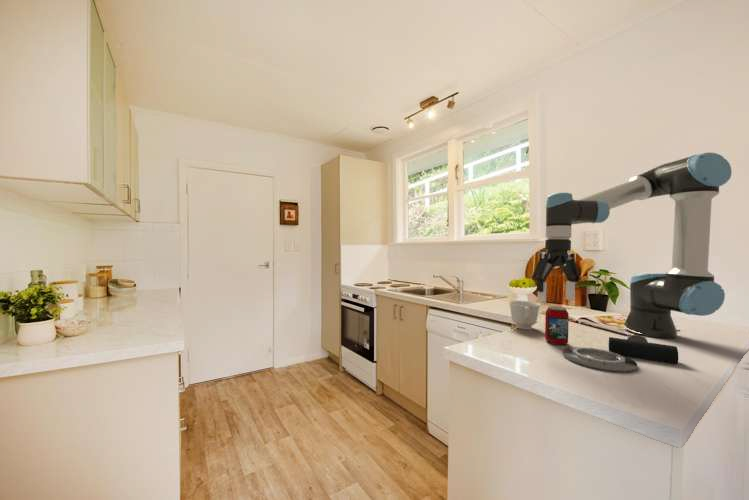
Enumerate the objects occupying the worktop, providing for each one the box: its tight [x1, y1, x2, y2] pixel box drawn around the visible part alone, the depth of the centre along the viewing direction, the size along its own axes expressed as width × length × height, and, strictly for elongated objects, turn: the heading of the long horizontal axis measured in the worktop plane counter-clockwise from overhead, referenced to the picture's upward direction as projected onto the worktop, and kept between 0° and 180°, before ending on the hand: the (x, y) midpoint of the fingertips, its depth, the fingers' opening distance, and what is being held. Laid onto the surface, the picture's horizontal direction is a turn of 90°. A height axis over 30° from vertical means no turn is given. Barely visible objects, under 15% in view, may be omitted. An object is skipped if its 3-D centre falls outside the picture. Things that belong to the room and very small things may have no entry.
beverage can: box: [544, 305, 570, 346], centre depth 103 cm, size 7×7×12 cm
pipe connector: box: [608, 334, 679, 365], centre depth 92 cm, size 12×5×15 cm
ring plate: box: [562, 346, 638, 374], centre depth 87 cm, size 17×17×2 cm
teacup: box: [507, 300, 542, 330], centre depth 121 cm, size 12×15×10 cm
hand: (556, 301), depth 103 cm, fingers open, 13 cm apart
